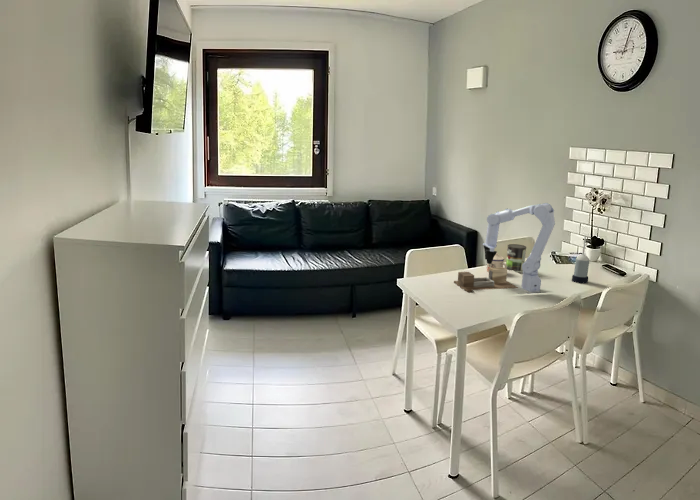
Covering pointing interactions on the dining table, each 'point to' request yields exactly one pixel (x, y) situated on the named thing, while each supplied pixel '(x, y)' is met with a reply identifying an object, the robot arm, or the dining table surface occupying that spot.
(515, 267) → the coffee can
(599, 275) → the dining table surface
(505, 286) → the post board
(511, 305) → the dining table surface
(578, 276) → the humidifier
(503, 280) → the beige pillar with cap
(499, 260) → the teacup with lid
